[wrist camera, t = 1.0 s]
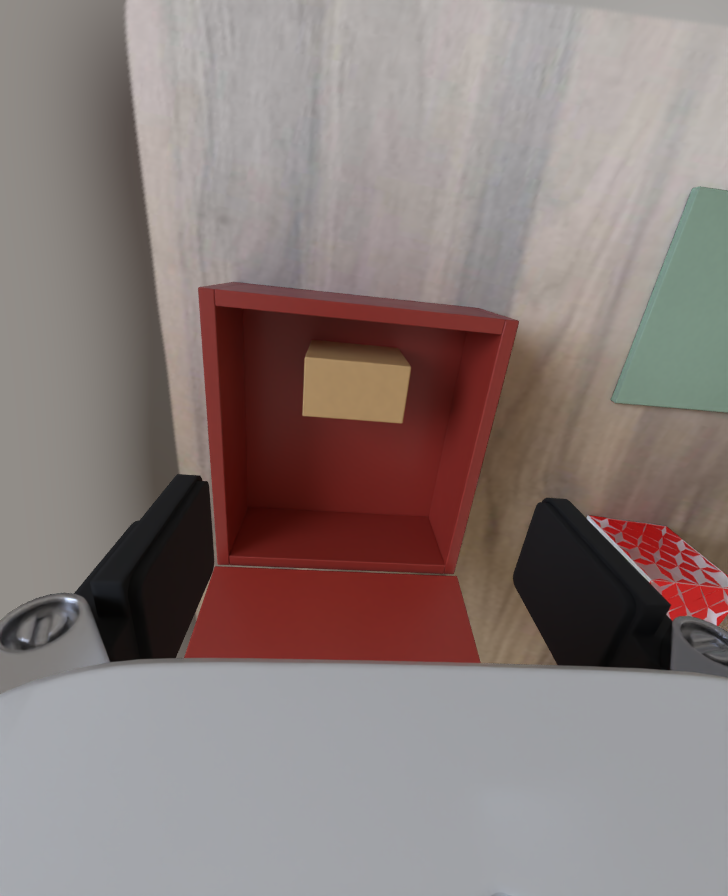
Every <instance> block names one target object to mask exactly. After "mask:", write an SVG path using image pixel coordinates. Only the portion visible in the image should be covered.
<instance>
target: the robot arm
mask: <svg viewBox="0 0 728 896" xmlns="http://www.w3.org/2000/svg"><path fill="white" fill-rule="evenodd" d="M213 567H214V550H213V536H212V521H211V507H210V493H209V484H208V482H207V481H202V478H201V476H197V475H182V474H177V475H176V476H175V477H174V479H173V480H172V481H171V482H170V484H169V485H168V486H167V487H166V489H165V490H164V491H163V492H162V494H161V495H160V496H159V497H158V499H157V500H156V501H155V502H154V503H153V505H152V506H151V507H150V508H149V510H148V511H147V512H146V513H145V515H144V516H143V517H142V518H141V519H140V521H135V522H134V523H133V524H132V525H131V526H130V527H129V528H128V529H127V530H126V532H125V533H124V534H123V535H122V536H121V538H120V539H119V540H118V541H117V542H116V544H115V545H114V546H113V547H112V548H111V550H110V551H109V552H108V553H107V554H106V556H105V557H104V558H103V559H102V561H101V562H100V563H99V564H98V565H97V566H96V568H95V569H94V570H93V571H92V573H91V574H90V575H89V576H88V577H87V579H86V580H85V581H84V582H83V584H82V585H81V586H80V587H79V588H78V590H77V591H76V592H75V593H74V594H72V593H57V594H50V595H46V596H43V597H39V598H36V599H34V600H32V601H29V602H27V603H25V604H22V605H20V606H19V607H17V608H16V609H14V610H12V611H11V612H9V613H8V614H7V615H6V616H5V617H3V618H2V619H1V620H0V896H728V632H727V631H725V630H724V629H722V628H720V627H718V626H716V625H714V624H712V623H710V622H708V621H705V620H702V619H700V618H696V617H691V616H679V617H677V618H675V619H673V621H672V620H671V619H670V618H669V617H668V616H667V615H666V614H667V612H668V610H669V609H670V607H671V604H670V603H669V602H668V601H667V600H666V599H665V598H664V597H663V596H662V595H661V594H660V593H659V592H658V591H657V590H656V589H655V588H654V587H653V586H652V585H651V584H650V583H649V582H648V581H647V580H646V579H645V578H644V577H643V576H642V575H641V574H640V573H639V572H638V571H637V570H636V568H635V567H634V566H633V565H632V564H631V563H630V562H629V561H628V560H627V559H626V558H625V557H624V556H623V555H622V554H621V553H620V552H619V551H618V550H617V549H616V548H615V547H614V546H613V545H612V544H611V543H610V542H609V541H608V540H607V539H606V538H605V537H604V536H603V535H602V534H601V533H600V532H599V531H598V530H597V529H596V528H595V527H594V526H593V525H592V524H591V523H590V522H589V521H588V520H587V519H586V518H585V517H584V515H583V514H582V513H581V512H580V511H579V510H578V509H577V508H576V507H575V506H574V505H573V504H572V503H571V502H570V501H568V500H567V499H557V498H545V499H544V500H543V501H542V502H540V503H538V504H537V506H536V508H535V511H534V514H533V517H532V520H531V523H530V526H529V529H528V532H527V535H526V538H525V541H524V544H523V547H522V550H521V553H520V556H519V559H518V562H517V565H516V568H515V571H514V574H513V581H514V585H515V587H516V589H517V591H518V593H519V595H520V597H521V598H522V600H523V602H524V604H525V606H526V608H527V609H528V611H529V613H530V615H531V617H532V619H533V621H534V622H535V624H536V626H537V628H538V630H539V632H540V633H541V635H542V637H543V639H544V641H545V643H546V644H547V646H548V648H549V650H550V652H551V654H552V655H553V657H554V659H555V661H556V663H557V665H529V664H496V663H457V662H416V661H373V660H321V659H266V658H176V656H177V653H178V651H179V649H180V646H181V644H182V642H183V639H184V637H185V635H186V632H187V630H188V628H189V625H190V623H191V621H192V618H193V616H194V614H195V612H196V609H197V607H198V605H199V602H200V600H201V598H202V595H203V593H204V591H205V588H206V586H207V584H208V581H209V579H210V577H211V574H212V571H213Z"/></svg>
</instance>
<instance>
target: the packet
mask: <svg viewBox="0 0 728 896" xmlns="http://www.w3.org/2000/svg"><path fill="white" fill-rule="evenodd" d="M410 373H411V366H410V364H409V363H408V361H407V360H406V359H405V357H404V356H403V354H402V353H401V351H400V350H399V348H393V347H382V346H372V345H361V344H351V343H340V342H330V341H319V340H312V341H311V343H310V346H309V348H308V351H307V353H306V356H305V361H304V387H303V413H302V415H303V416H309V417H322V418H335V419H348V420H362V421H375V422H388V423H403V418H404V412H405V405H406V399H407V393H408V386H409V380H410Z"/></svg>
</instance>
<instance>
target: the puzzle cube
mask: <svg viewBox="0 0 728 896" xmlns="http://www.w3.org/2000/svg"><path fill="white" fill-rule="evenodd" d="M586 519H587V520H588V521H589V522H590V523H591V524H592V525H593V526H594V527H595V528H596V529H597V530H598V531H599V532H600V533H601V534H602V535H603V536H604V537H605V538H606V539H607V540H608V541H609V542H610V543H611V544H612V545H613V546H614V547H615V548H616V549H617V550H618V551H619V552H620V553H621V554H622V555H623V556H624V557H625V558H626V559H627V560H628V561H629V562H630V563H631V564H632V565H633V566H634V567H635V568H636V570H637V571H638V572H639V573H640V574H641V575H642V576H643V577H644V578H645V579H646V580H647V581H648V582H649V583H650V584H651V585H652V586H653V587H654V588H655V589H656V590H657V591H658V592H659V593H660V594H661V595H662V596H663V597H664V598H665V599H666V600H667V601H668V602H669V603H670V604H671V607H670V609H669V610H668V612H667V614H666V615H667V616H668V617H669V618H670V619H671V620H672V621H673V619H675V618H677V617H679V616H691V617H696V618H700V619H702V620H705V621H708V622H710V623H712V624H714V625H716V626H719V624H720V623H721V622H722V621H723V619H724V618H725V617H726V616H727V614H728V575H726V574H725V573H724V572H723V571H721V570H720V569H719V568H717V567H716V566H715V565H714V564H712V563H711V562H710V561H709V560H707V559H706V558H705V557H704V556H702V555H701V554H700V553H699V552H697V551H696V550H695V549H694V548H692V547H691V546H690V545H689V544H687V543H686V542H685V541H684V540H682V539H681V538H680V537H679V536H678V535H676V534H675V533H674V532H673V531H672V530H670V529H669V528H668V527H667V526H662V525H655V524H647V523H640V522H633V521H625V520H618V519H610V518H604V517H597V516H587V518H586Z"/></svg>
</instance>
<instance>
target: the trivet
mask: <svg viewBox="0 0 728 896" xmlns="http://www.w3.org/2000/svg"><path fill="white" fill-rule="evenodd" d="M611 401H613V402H615V403H622V404H634V405H646V406H657V407H669V408H680V409H692V410H704V411H715V412H727V413H728V191H727V190H720V189H713V188H706V187H696V188H693V189H692V191H691V193H690V196H689V198H688V201H687V204H686V206H685V209H684V211H683V214H682V217H681V219H680V222H679V224H678V227H677V230H676V232H675V235H674V237H673V240H672V243H671V245H670V248H669V250H668V253H667V256H666V258H665V261H664V263H663V266H662V269H661V271H660V274H659V276H658V279H657V282H656V284H655V287H654V289H653V292H652V295H651V297H650V300H649V302H648V305H647V308H646V310H645V313H644V315H643V318H642V321H641V323H640V326H639V328H638V331H637V334H636V336H635V339H634V341H633V344H632V347H631V349H630V352H629V354H628V357H627V360H626V362H625V365H624V367H623V370H622V373H621V375H620V378H619V380H618V383H617V385H616V388H615V391H614V393H613V396H612V398H611Z"/></svg>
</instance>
